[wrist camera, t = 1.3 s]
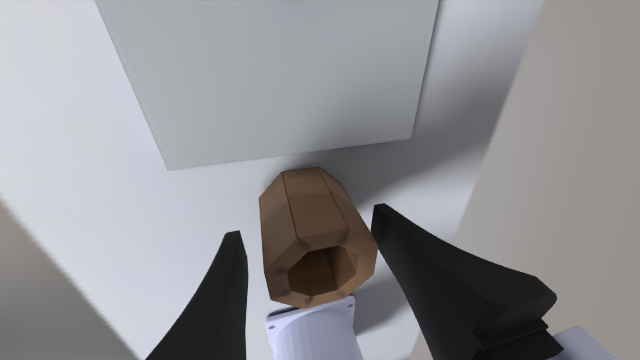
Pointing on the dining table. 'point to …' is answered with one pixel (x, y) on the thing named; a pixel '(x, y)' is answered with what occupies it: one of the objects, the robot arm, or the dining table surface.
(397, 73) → the post plate
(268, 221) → the tube
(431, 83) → the dining table surface
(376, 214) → the robot arm
